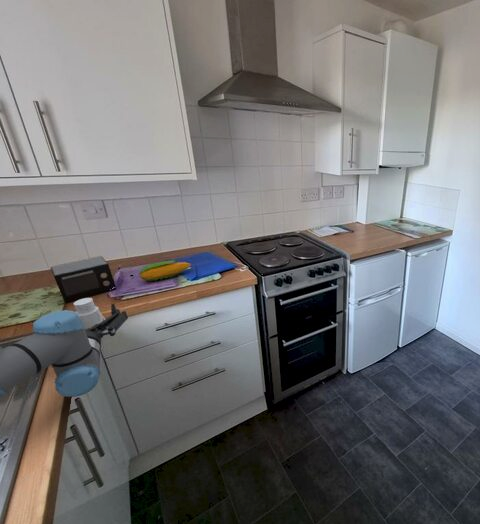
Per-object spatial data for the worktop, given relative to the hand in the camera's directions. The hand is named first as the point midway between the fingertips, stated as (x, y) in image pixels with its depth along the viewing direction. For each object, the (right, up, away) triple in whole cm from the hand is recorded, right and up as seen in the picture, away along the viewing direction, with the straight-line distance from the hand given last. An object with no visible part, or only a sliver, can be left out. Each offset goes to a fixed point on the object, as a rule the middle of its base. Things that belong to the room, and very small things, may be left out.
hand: (87, 313), depth 95 cm
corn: (+2, +10, +39) cm, 40 cm away
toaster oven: (-22, +5, +26) cm, 34 cm away
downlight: (-1, -5, +3) cm, 6 cm away
